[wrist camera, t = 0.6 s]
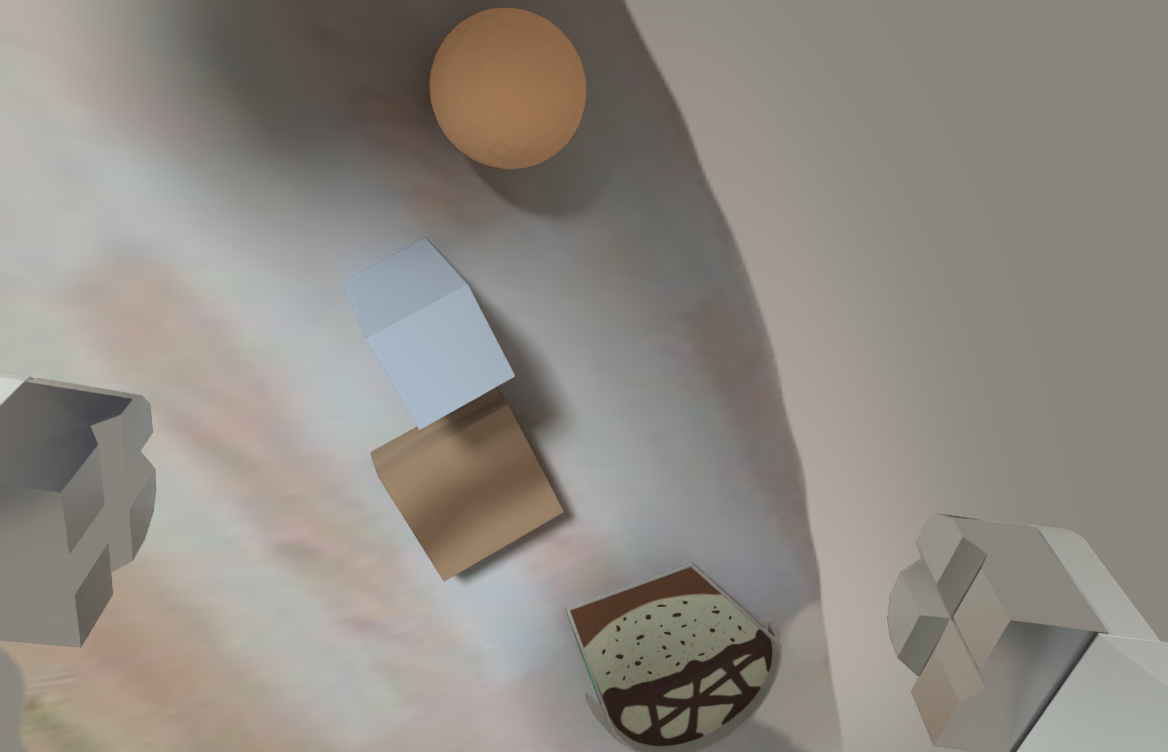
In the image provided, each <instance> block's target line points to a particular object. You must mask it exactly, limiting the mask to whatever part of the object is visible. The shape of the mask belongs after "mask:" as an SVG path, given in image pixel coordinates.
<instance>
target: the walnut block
mask: <svg viewBox="0 0 1168 752" xmlns="http://www.w3.org/2000/svg"><path fill="white" fill-rule="evenodd" d="M370 453H371V456H372V459H373V462H374V465H375V468H376V472H377V475H378V477H379V479H380V480H381V482H382V484H383V485H384V487H385V488H386V490H387V492H388V493H389V495H390V496H391V498H392V500H393V501H394V503H395V504H396V506H397V508H398V509H399V511H400V512H401V514H402V516H403V517H404V519H405V520H406V522H407V524H408V525H409V527H410V528H411V530H412V532H413V533H414V535H415V536H416V538H417V540H418V541H419V543H420V544H421V546H422V548H423V549H424V551H425V552H426V554H427V556H428V557H429V559H430V560H431V562H432V564H433V565H434V567H435V568H436V570H437V572H438V573H439V575H440V576H441V578H442V580H443V581H446V580H448V579H449V578H451V577H453V576H455V575H456V574H458V573H460V572H462V571H463V570H465V569H467V568H468V567H470V566H472V565H474V564H475V563H477V562H479V561H480V560H482V559H484V558H486V557H487V556H489V555H491V554H493V553H494V552H496V551H498V550H499V549H501V548H503V547H505V546H506V545H508V544H510V543H511V542H513V541H515V540H517V539H518V538H520V537H522V536H523V535H525V534H527V533H529V532H530V531H532V530H534V529H536V528H537V527H539V526H541V525H542V524H544V523H546V522H548V521H549V520H551V519H553V518H554V517H556V516H558V515H560V514H561V513H563V512H564V511H563V509H562V507H561V505H560V503H559V502H558V500H557V498H556V496H555V494H554V492H553V490H552V488H551V486H550V484H549V482H548V480H547V478H546V476H545V474H544V472H543V470H542V468H541V466H540V465H539V463H538V461H537V459H536V457H535V455H534V453H533V451H532V449H531V447H530V445H529V443H528V441H527V439H526V437H525V435H524V433H523V431H522V430H521V428H520V426H519V424H518V422H517V420H516V418H515V416H514V414H513V412H512V410H511V408H510V406H509V404H508V403H507V402H506V400H505V399H504V397H503V396H502V395H501V393H500V392H499V391H498V389H497V388H496V387H495V388H494V389H492V390H490V391H488V392H486V393H485V394H483V395H481V396H479V397H477V398H476V399H474V400H472V401H470V402H469V403H467V404H465V405H463V406H461V407H460V408H458V409H456V410H454V411H453V412H451V413H449V414H447V415H445V416H444V417H442V418H440V419H438V420H437V421H435V422H433V423H431V424H429V425H428V426H426V427H424V428H422V429H421V430H419V429H418V427H416V428H414V429H412V430H410V431H408V432H407V433H405V434H403V435H401V436H399V437H397V438H396V439H394V440H392V441H390V442H388V443H387V444H385V445H383V446H381V447H379V448H377V449H376V450H374V451H372V452H370Z"/></svg>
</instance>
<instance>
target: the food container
mask: <svg viewBox="0 0 1168 752" xmlns="http://www.w3.org/2000/svg"><path fill="white" fill-rule="evenodd" d="M565 609H566V612H567V615H568V618H569V622H570V624H571V627H572V630H573V632H574V635H575V638H576V640H577V643H578V646H579V648H580V651H581V654H582V656H583V659H584V662H585V664H586V667H587V670H588V672H589V675H590V678H591V680H592V683H593V686H594V688H595V691H596V694H597V696H598V699H599V702H600V704H601V705H599V704H598V703H597V702H596V701H595V700H594V699H593V698H592V697H591V696H590V695H589V694H588V693H587V694H585V695H586V698H587V701H588V704H589V707H590V708H591V710H592V712H593V714H594V715H595V717H596V718H597V719H598V720H599V721H600V723H601V724H602V725H603V726H604V727H605V728H606V729H607V730H608V731H609V732H610V733H611V735H612V736H613V737H614V738H615V739H617V740H618V741H619V742H621V743H622V744H623V745H625V746H627V747H629V748H630V749H632V750H634V751H636V752H699V751H702V750H705V749H707V748H709V747H711V746H713V745H715V744H717V743H719V742H721V741H722V740H724V739H725V738H727V737H728V736H730V735H731V734H733V733H734V732H735V731H736V730H738V729H739V728H740V727H741V726H743V725H744V724H745V723H746V722H747V721H748V720H749V719H750V718H751V717H752V716H753V714H754V713H755V712H756V711H757V710H758V708H759V707H760V706H761V705H762V703H763V701H764V700H765V698H766V697H767V695H768V694H769V692H770V690H771V688H772V686H773V683H774V681H775V679H776V676H777V673H778V669H779V665H780V659H781V644H780V643H779V636H778V634H777V632H776V630H775V628H774V626H773V625H772V623H771V622H769V632H768V631H767V630H766V629H765V628H764V627H763V626H761V625H760V624H759V623H758V622H757V621H756V620H755V619H754V618H753V617H752V616H750V615H749V614H748V613H747V612H746V611H745V610H744V609H743V608H742V607H740V606H739V605H738V604H737V603H736V602H735V601H734V600H733V599H732V598H730V597H729V596H728V595H727V594H726V593H725V592H724V591H723V590H722V589H720V588H719V587H718V586H717V585H716V584H715V583H714V582H713V581H712V580H711V579H709V578H708V577H707V576H706V575H705V574H704V573H703V572H702V571H701V570H699V569H698V568H697V567H696V566H695V565H694V564H693V563H689V564H687V565H684V566H681V567H678V568H676V569H673V570H670V571H667V572H664V573H662V574H659V575H656V576H653V577H651V578H648V579H645V580H642V581H639V582H637V583H634V584H631V585H628V586H626V587H623V588H620V589H617V590H614V591H612V592H609V593H606V594H603V595H600V596H598V597H595V598H592V599H589V600H587V601H584V602H581V603H578V604H575V605H573V606H570V607H567V608H565Z"/></svg>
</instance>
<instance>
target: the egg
mask: <svg viewBox="0 0 1168 752" xmlns="http://www.w3.org/2000/svg"><path fill="white" fill-rule="evenodd" d="M429 89H430V97H431V104H432V107H433V110H434V113H435V116H436V119H437V122H438V124H439V126H440V127H441V129H442V130H443V132H444V134H445V135H446V136H447V138H448V139H449V140H450V141H451V142H452V143H453V145H454V146H455V147H456V148H457V149H458V150H459V151H461V152H462V153H464V154H465V155H467V156H468V157H470V158H471V159H473V160H474V161H476V162H479V163H482V164H484V165H487V166H490V167H496V168H502V169H508V170H509V169H519V168H528V167H531V166H534V165H537V164H540V163H542V162H544V161H546V160H547V159H549V158H551V157H553V156H554V155H556V154H557V153H558V152H559V151H560V150H561V149H562V148H563V147H564V146H565V145H567V144H568V142H569V141H570V139H571V138H572V136H573V135H574V133H575V132H576V130H577V128H578V126H579V125H580V121H581V118H582V115H583V112H584V108H585V102H586V95H587V89H586V77H585V73H584V69H583V65H582V62H581V59H580V57H579V55H578V53H577V51H576V50H575V48H574V46H573V44H572V42H571V41H570V40H569V39H568V38H567V37H566V36H565V34H564V33H563V32H562V31H561V30H560V29H559V28H558V27H557V26H555V25H554V24H553V23H552V22H550V21H549V20H548V19H546V18H544V17H542V16H539V15H537V14H535V13H533V12H531V11H528V10H523V9H517V8H491V9H488V10H485V11H481V12H478V13H476V14H474V15H472V16H470V17H468V18H466V19H465V20H463V21H462V22H461V23H459V24H458V25H457V26H456V27H455V28H454V29H453V30H452V31H451V32H450V33H449V34H448V35H447V36H446V38H445V39H444V41H443V42H442V44H441V46H440V47H439V49H438V51H437V52H436V55H435V59H434V62H433V66H432V69H431V72H430V88H429Z"/></svg>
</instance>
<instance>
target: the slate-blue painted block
mask: <svg viewBox="0 0 1168 752" xmlns="http://www.w3.org/2000/svg"><path fill="white" fill-rule="evenodd" d="M341 283H342V285H343V288H344V290H345V292H346V295H347V297H348V300H349V302H350V304H351V307H352V309H353V311H354V314H355V316H356V319H357V321H358V323H359V326H360V328H361V331H362V333H363V335H364V338H365V340H366V342H367V343H368V345H369V347H370V348H371V350H372V352H373V353H374V355H375V357H376V358H377V360H378V362H379V363H380V365H381V367H382V368H383V370H384V372H385V373H386V375H387V377H388V378H389V380H390V382H391V383H392V385H393V387H394V388H395V390H396V392H397V394H398V395H399V397H400V399H401V400H402V402H403V404H404V405H405V407H406V409H407V410H408V412H409V414H410V415H411V417H412V419H413V420H414V422H415V424H416V425H417V427H418V429H419V430H421V429H422V428H424V427H426V426H428V425H429V424H431V423H433V422H435V421H437V420H438V419H440V418H442V417H444V416H445V415H447V414H449V413H451V412H453V411H454V410H456V409H458V408H460V407H461V406H463V405H465V404H467V403H469V402H470V401H472V400H474V399H476V398H477V397H479V396H481V395H483V394H485V393H486V392H488V391H490V390H492V389H494V388H495V387H497V386H499V385H501V384H502V383H504V382H506V381H508V380H510V379H511V378H513V377H515V375H514V373H513V371H512V369H511V367H510V365H509V363H508V361H507V359H506V357H505V355H504V353H503V351H502V349H501V347H500V346H499V344H498V342H497V340H496V338H495V336H494V334H493V332H492V330H491V328H490V326H489V324H488V322H487V320H486V318H485V317H484V315H483V313H482V311H481V309H480V307H479V305H478V303H477V301H476V299H475V297H474V295H473V293H472V291H471V289H470V287H469V286H468V284H467V283H466V282H465V281H464V279H463V278H462V277H461V276H460V275H459V274H458V273H457V272H456V271H455V270H454V268H453V267H452V266H451V265H450V264H449V263H448V262H447V261H446V260H445V259H444V258H443V256H442V255H441V254H440V253H439V252H438V251H437V250H436V249H435V248H434V247H433V245H432V244H431V243H430V242H429V241H428V240H427V239H426V238H424V239H422V240H420V241H418V242H416V243H414V244H412V245H410V246H408V247H407V248H405V249H403V250H401V251H399V252H397V253H395V254H393V255H391V256H390V257H388V258H386V259H384V260H382V261H380V262H378V263H376V264H374V265H372V266H371V267H369V268H367V269H365V270H363V271H361V272H359V273H357V274H355V275H353V276H352V277H350V278H348V279H346V280H344V281H342V282H341Z"/></svg>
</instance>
